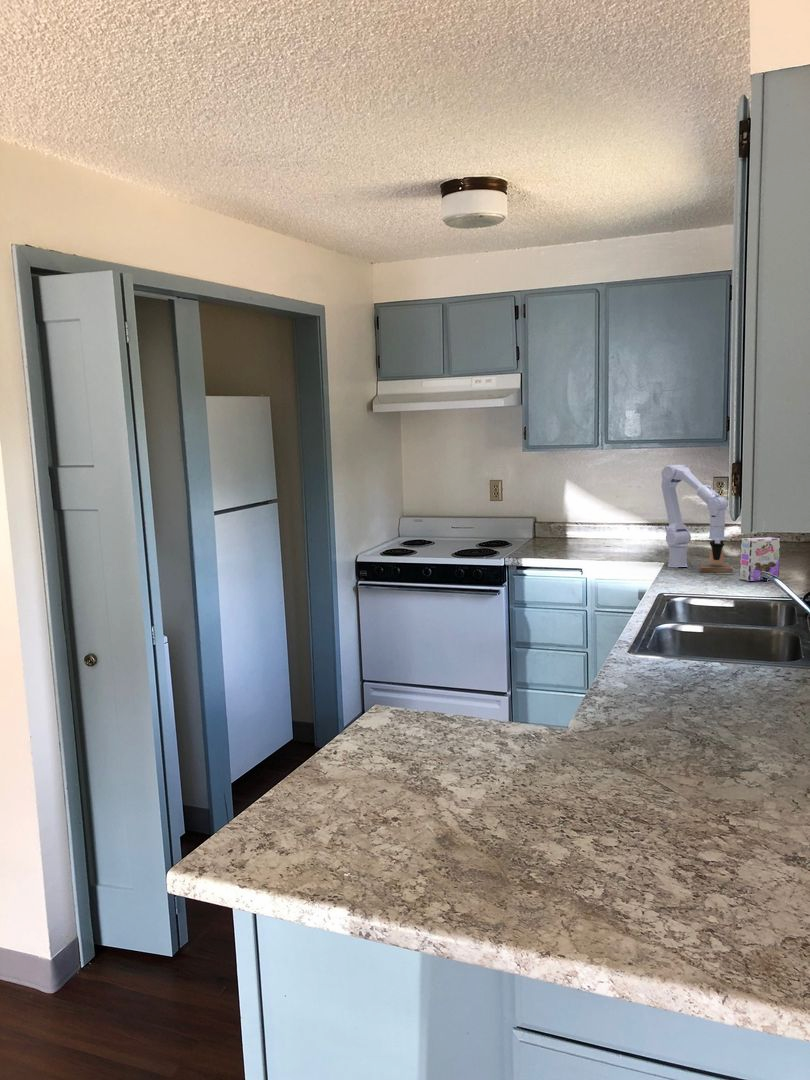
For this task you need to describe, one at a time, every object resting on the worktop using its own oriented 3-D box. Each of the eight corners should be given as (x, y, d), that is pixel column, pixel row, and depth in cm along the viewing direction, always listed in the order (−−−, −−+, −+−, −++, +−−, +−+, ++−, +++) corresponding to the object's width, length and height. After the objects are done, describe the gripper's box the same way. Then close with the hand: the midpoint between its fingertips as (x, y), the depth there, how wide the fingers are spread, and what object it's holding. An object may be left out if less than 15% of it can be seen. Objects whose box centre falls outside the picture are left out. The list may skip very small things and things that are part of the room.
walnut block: (699, 570, 353) (700, 563, 352) (730, 571, 349) (730, 564, 349) (700, 574, 341) (701, 567, 341) (732, 575, 338) (732, 568, 337)
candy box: (748, 582, 319) (750, 539, 317) (738, 580, 324) (740, 538, 323) (779, 580, 322) (781, 538, 321) (769, 578, 328) (770, 536, 326)
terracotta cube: (709, 561, 348) (709, 549, 347) (722, 561, 346) (722, 549, 346) (710, 563, 343) (710, 551, 342) (722, 563, 342) (723, 551, 341)
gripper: (728, 528, 335) (727, 561, 336) (726, 524, 349) (725, 556, 350) (709, 527, 337) (708, 561, 339) (708, 524, 351) (707, 556, 352)
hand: (716, 559), depth 344 cm, fingers closed on terracotta cube, 5 cm apart
